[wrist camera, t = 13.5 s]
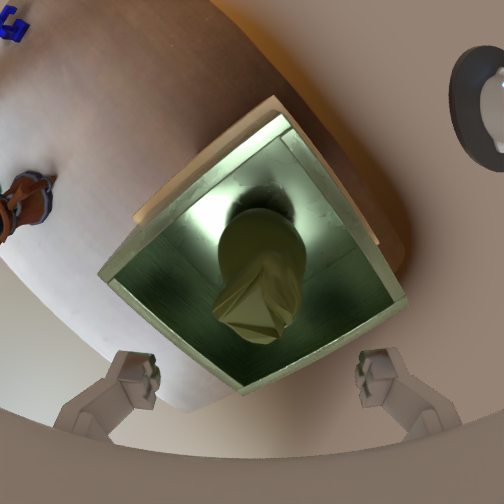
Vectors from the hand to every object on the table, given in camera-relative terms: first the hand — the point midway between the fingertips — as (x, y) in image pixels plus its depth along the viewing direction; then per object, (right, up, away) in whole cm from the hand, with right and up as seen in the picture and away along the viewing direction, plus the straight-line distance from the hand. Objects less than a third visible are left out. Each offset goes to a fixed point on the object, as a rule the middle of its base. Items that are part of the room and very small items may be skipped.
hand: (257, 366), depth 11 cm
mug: (-42, +17, +39) cm, 59 cm away
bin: (+1, +19, +37) cm, 41 cm away
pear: (0, +6, +11) cm, 13 cm away
